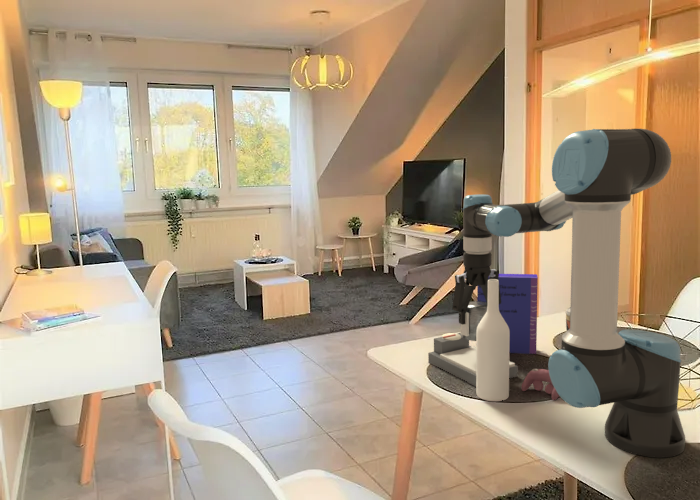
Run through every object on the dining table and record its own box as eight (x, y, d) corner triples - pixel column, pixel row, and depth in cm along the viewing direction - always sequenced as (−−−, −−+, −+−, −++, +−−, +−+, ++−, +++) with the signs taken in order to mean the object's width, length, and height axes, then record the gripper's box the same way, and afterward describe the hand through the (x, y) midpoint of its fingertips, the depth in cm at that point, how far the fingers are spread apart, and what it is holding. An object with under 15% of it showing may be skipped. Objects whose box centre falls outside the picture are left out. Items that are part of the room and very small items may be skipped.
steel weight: (490, 341, 156) (490, 309, 155) (460, 340, 158) (460, 308, 157) (492, 332, 164) (492, 302, 162) (463, 331, 166) (463, 300, 164)
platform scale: (517, 376, 158) (517, 349, 157) (477, 387, 152) (477, 359, 151) (464, 352, 178) (464, 328, 177) (426, 361, 172) (426, 336, 171)
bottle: (488, 404, 142) (489, 285, 137) (470, 392, 149) (469, 278, 144) (515, 398, 145) (517, 281, 140) (496, 386, 152) (496, 275, 147)
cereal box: (535, 349, 179) (536, 273, 175) (536, 354, 175) (537, 277, 171) (477, 346, 184) (477, 272, 180) (477, 351, 179) (477, 276, 175)
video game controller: (562, 403, 145) (569, 376, 146) (554, 400, 142) (561, 372, 143) (526, 392, 152) (533, 366, 153) (518, 389, 149) (525, 363, 150)
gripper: (497, 245, 165) (496, 322, 169) (437, 254, 155) (438, 335, 159) (516, 249, 158) (514, 329, 162) (455, 258, 149) (455, 342, 153)
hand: (477, 332), depth 161 cm, fingers closed on steel weight, 8 cm apart
